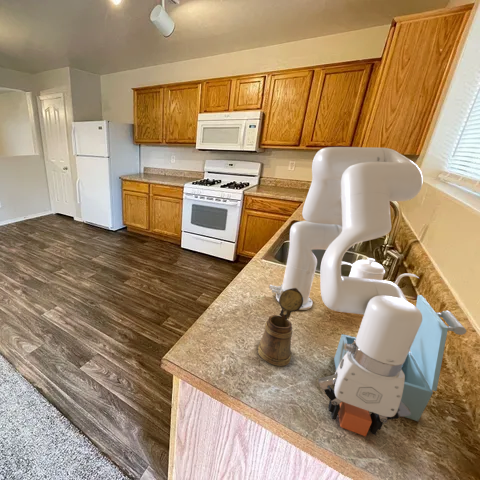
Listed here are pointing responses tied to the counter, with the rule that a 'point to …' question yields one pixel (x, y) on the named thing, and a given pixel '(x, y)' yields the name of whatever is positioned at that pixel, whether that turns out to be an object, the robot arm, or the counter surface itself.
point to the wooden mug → (280, 330)
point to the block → (354, 418)
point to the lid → (432, 340)
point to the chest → (414, 385)
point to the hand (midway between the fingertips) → (351, 420)
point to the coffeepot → (370, 270)
